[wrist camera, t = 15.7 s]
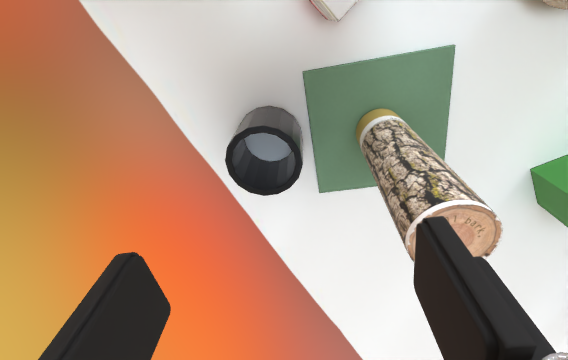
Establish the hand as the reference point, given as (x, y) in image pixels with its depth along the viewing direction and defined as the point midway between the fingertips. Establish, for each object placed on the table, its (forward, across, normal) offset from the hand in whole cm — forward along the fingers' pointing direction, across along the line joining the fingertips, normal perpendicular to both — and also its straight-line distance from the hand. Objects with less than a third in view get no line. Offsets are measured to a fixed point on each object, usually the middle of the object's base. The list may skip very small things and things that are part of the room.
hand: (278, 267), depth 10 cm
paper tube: (+35, -11, +10) cm, 38 cm away
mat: (+36, -11, +10) cm, 39 cm away
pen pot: (+36, +5, +9) cm, 37 cm away
